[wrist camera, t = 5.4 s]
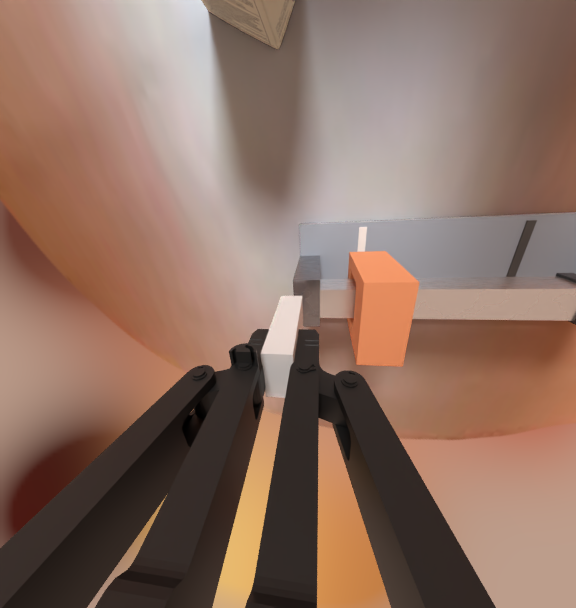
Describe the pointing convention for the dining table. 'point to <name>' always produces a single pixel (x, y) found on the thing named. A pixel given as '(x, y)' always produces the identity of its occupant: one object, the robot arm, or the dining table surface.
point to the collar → (381, 308)
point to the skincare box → (255, 17)
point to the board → (451, 245)
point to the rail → (446, 296)
